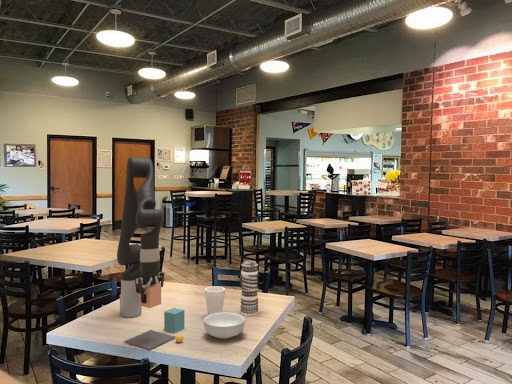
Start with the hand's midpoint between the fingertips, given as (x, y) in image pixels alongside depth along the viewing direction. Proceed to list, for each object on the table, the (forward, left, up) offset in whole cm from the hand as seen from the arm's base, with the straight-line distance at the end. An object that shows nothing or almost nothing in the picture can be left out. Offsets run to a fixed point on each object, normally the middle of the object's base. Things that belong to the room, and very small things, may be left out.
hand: (150, 300), depth 163 cm
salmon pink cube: (0, 0, -2) cm, 2 cm away
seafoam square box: (0, +14, -16) cm, 21 cm away
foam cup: (+5, +36, -16) cm, 40 cm away
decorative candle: (+16, +49, -16) cm, 54 cm away
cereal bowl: (+22, +20, -16) cm, 34 cm away
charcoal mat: (0, 0, -16) cm, 16 cm away
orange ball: (+11, +5, -16) cm, 20 cm away
